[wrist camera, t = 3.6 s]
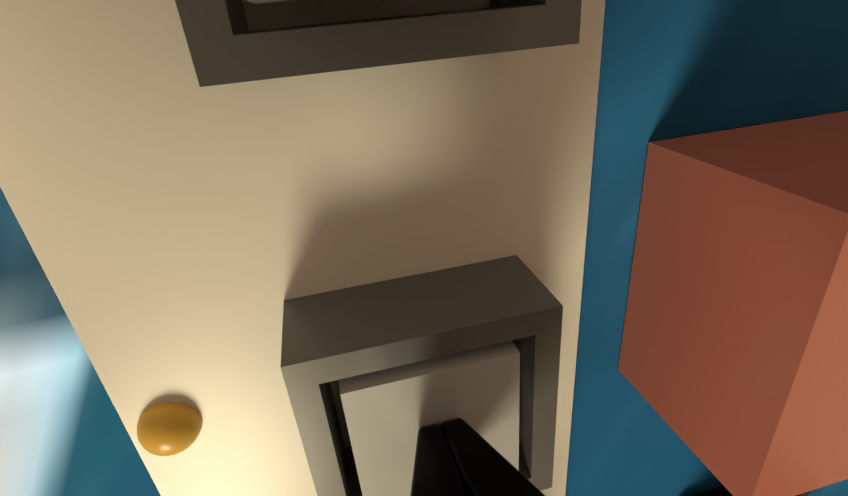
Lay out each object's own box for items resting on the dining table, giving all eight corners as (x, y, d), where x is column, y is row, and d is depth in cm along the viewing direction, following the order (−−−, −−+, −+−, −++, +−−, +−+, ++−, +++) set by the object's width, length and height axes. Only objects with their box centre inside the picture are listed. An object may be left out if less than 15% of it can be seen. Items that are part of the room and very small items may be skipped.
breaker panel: (562, -345, 8) (788, -652, 4) (531, 548, 19) (586, 671, 15) (-177, -373, 6) (-869, -940, 2) (270, 628, 17) (263, 789, 13)
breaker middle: (481, 294, 10) (520, 352, 8) (485, 404, 12) (518, 472, 10) (332, 325, 10) (340, 394, 8) (356, 436, 11) (366, 515, 9)
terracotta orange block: (885, 104, 13) (1178, 148, 9) (808, 321, 16) (993, 432, 12) (649, 142, 12) (852, 215, 7) (618, 369, 15) (747, 511, 11)
